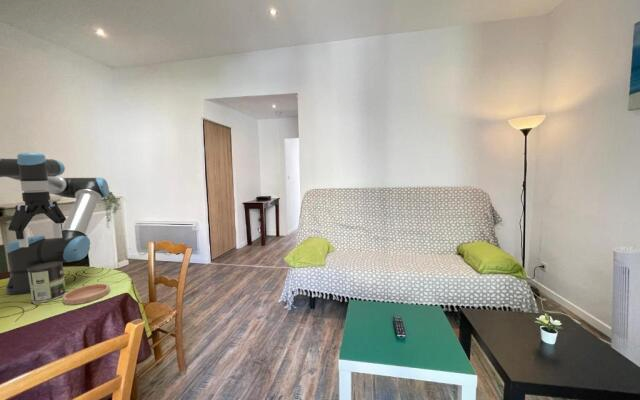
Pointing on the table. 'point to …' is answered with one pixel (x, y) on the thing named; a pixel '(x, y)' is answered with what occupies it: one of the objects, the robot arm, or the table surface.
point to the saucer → (85, 294)
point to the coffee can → (46, 281)
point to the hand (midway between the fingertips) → (42, 242)
